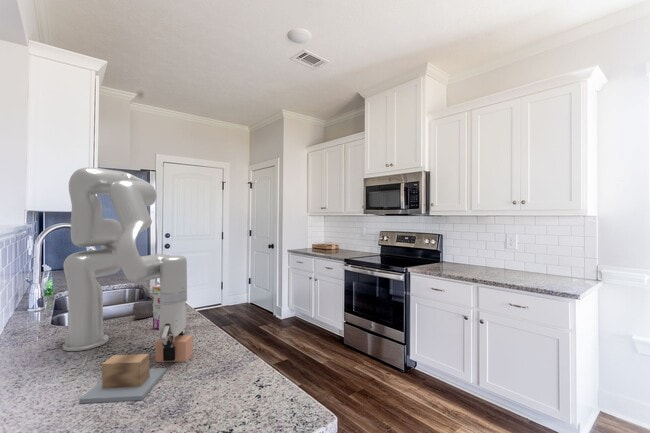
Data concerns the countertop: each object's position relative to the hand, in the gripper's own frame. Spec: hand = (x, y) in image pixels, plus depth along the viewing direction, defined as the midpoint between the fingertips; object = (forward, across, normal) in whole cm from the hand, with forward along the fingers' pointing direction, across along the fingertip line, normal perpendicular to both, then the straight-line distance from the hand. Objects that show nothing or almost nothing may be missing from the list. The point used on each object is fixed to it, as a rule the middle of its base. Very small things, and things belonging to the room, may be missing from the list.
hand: (174, 353), depth 100 cm
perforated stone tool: (+1, -44, -26) cm, 51 cm away
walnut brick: (0, +16, -6) cm, 17 cm away
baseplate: (+1, +16, -6) cm, 17 cm away
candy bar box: (+1, -28, -12) cm, 30 cm away
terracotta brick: (+1, 0, 0) cm, 1 cm away
